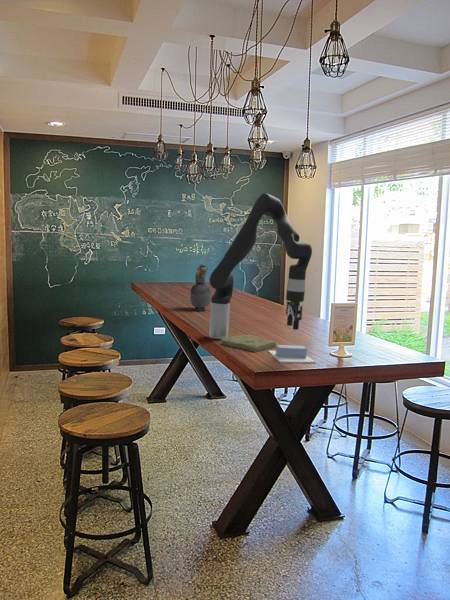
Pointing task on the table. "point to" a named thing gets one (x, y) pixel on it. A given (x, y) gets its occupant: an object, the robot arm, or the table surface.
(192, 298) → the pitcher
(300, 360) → the mat
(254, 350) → the decorative tile
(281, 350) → the block
